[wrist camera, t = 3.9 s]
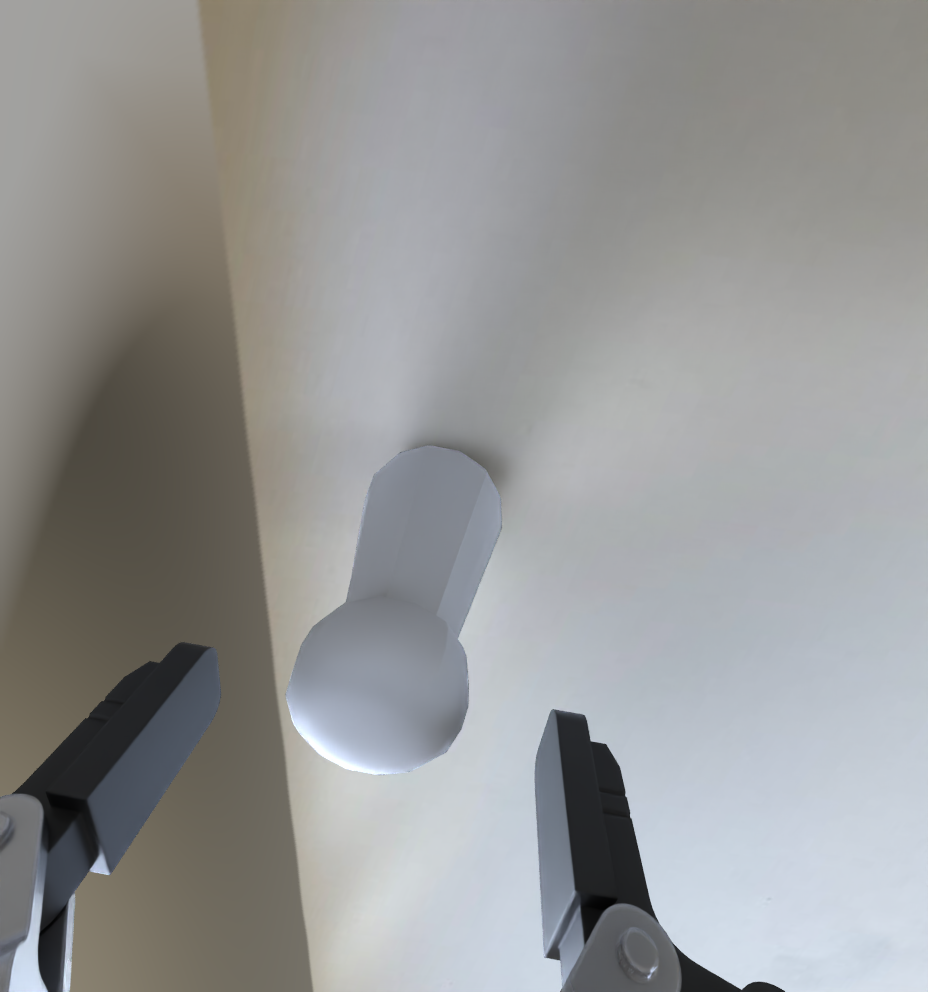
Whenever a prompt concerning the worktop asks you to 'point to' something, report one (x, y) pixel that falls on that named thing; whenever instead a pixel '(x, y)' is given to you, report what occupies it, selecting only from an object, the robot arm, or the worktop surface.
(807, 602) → the worktop surface
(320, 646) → the salt shaker
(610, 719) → the worktop surface
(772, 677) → the worktop surface
